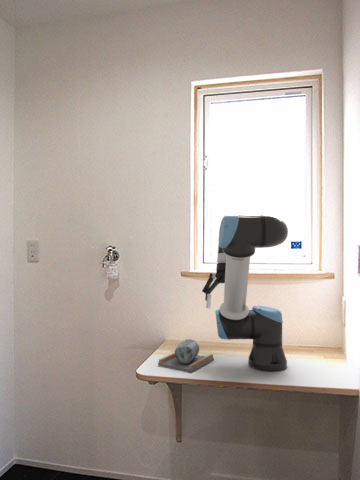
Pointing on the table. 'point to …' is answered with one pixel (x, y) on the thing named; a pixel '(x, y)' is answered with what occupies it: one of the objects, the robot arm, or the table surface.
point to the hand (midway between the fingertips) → (221, 309)
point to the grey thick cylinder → (186, 351)
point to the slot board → (191, 367)
